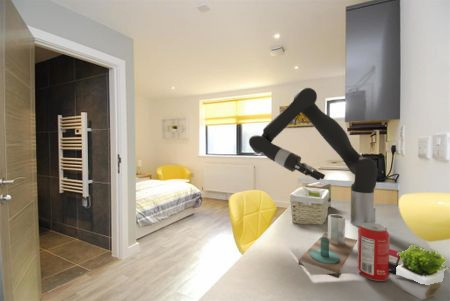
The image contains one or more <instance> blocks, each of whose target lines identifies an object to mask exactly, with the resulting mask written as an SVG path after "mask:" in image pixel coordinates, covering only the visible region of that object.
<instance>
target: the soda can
mask: <svg viewBox="0 0 450 301" xmlns="http://www.w3.org/2000/svg"><path fill="white" fill-rule="evenodd" d="M390 244H391V243H390V232H389V231H388V228H387V227H386V226H384V225H382V224H378V223H376V222H375V223H361V226H360V227H358V228H357V269H358V271H359V272H358V273H359V274H360V275H362V276H363V277H364V278H366V279H368V280H371V281H375V282H384V281H387V280H388V279H389V277H390V276H389V274H390V273H389V270H390V268H389V249H390Z"/></svg>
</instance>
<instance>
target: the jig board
mask: <svg viewBox="0 0 450 301" xmlns="http://www.w3.org/2000/svg"><path fill="white" fill-rule="evenodd" d="M356 243H358V239H355V238H350V237H347V236H345V244H344V245H334V244H331V243H329V239H328V232H327V231H326V232H324V233H323V234H322V235H321V236H320V238H318V240H317V241H315V243H314V244H312V246H310V247H309V249H308V250H307V251H306V252H305V253H303V255H302V256H301V257H300V258H299V259H298V265H300V266H301V267H302V266H303V267H305V265H304V264H303V263H302V262H304V263H307V264H309V265H312V266H316V267H319V268H322V269H325V270H327V271H331V272H333V273H330V272H329V273H327V275H329V276H331V277H335V278H336V279H339V278H340V277H341V274H342V272H341V270H342V268H343V267H344V265H345V263H346V261H347V260H348V258H349V256H350V254H351V252H352V250H353V249H354V247H355V245H356Z"/></svg>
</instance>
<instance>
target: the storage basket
mask: <svg viewBox="0 0 450 301" xmlns="http://www.w3.org/2000/svg"><path fill="white" fill-rule="evenodd" d="M309 192H310V193H319V194H320V197H315V196H309ZM328 198H329V190H327V189H317V188H308V187H304V186H301V187H299V188H297V189H296V190H294V191H293V192H291V193H290V194H289V201H290V210H291V211H290V212H291V213H290V215H291V221H292V223H295V224H298V225H321V226H322V225H324V224H325V222H326V221H327V220H326V219H327V218H328V215H329V214H328V208H329V207H328V200H329V199H328Z"/></svg>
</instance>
